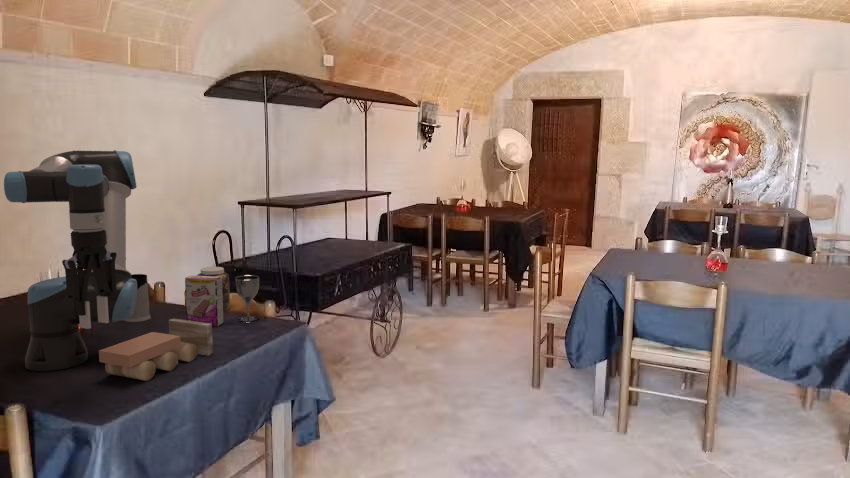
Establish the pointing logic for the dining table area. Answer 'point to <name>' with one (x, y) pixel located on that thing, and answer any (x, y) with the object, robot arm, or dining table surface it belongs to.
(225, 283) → the jar
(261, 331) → the dining table surface
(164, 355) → the roller rack
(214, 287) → the candy bar box
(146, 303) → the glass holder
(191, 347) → the roller loose
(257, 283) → the wine glass
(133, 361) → the slab
